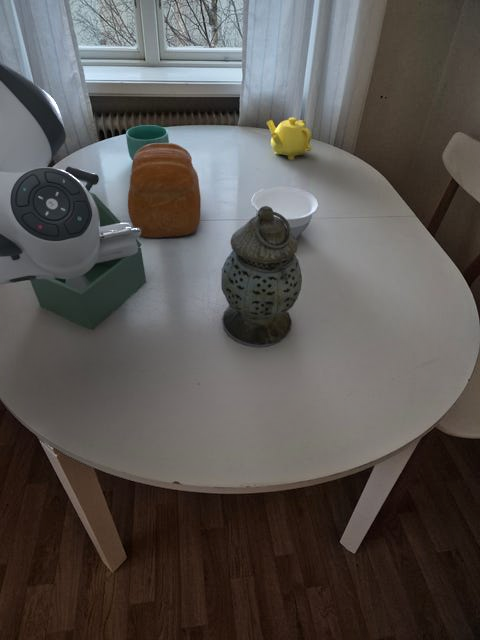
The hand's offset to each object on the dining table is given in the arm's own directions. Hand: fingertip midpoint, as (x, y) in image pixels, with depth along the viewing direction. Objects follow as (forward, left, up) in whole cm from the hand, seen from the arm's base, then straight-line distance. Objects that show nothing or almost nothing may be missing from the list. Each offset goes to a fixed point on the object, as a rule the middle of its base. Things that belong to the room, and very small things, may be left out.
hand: (70, 263), depth 69 cm
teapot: (+75, +61, -16) cm, 98 cm away
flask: (0, +10, -16) cm, 18 cm away
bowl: (+50, +18, -16) cm, 55 cm away
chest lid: (+6, +14, 0) cm, 15 cm away
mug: (+31, +68, -16) cm, 76 cm away
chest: (+3, +12, -16) cm, 20 cm away
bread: (+26, +36, -16) cm, 47 cm away
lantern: (+30, -9, -16) cm, 35 cm away
